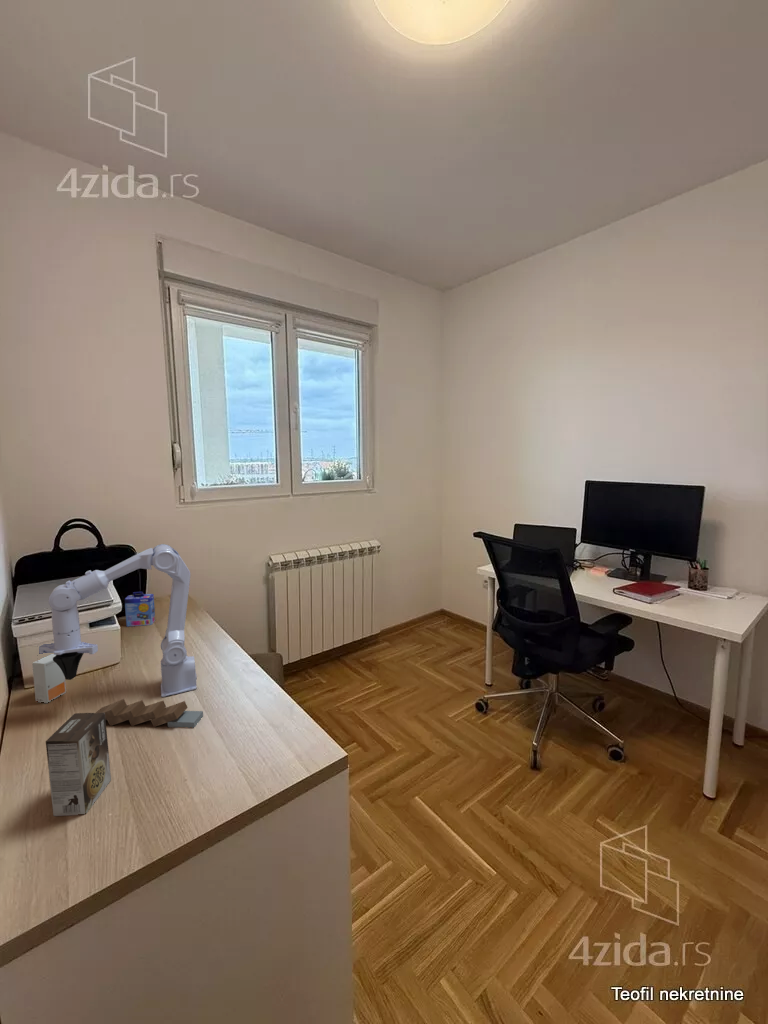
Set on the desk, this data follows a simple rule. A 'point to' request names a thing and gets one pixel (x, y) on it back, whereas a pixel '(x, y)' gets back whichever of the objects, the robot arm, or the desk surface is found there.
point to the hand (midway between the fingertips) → (71, 677)
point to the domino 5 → (187, 719)
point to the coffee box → (78, 763)
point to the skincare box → (48, 679)
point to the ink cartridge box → (139, 609)
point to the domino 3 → (148, 713)
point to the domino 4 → (169, 714)
